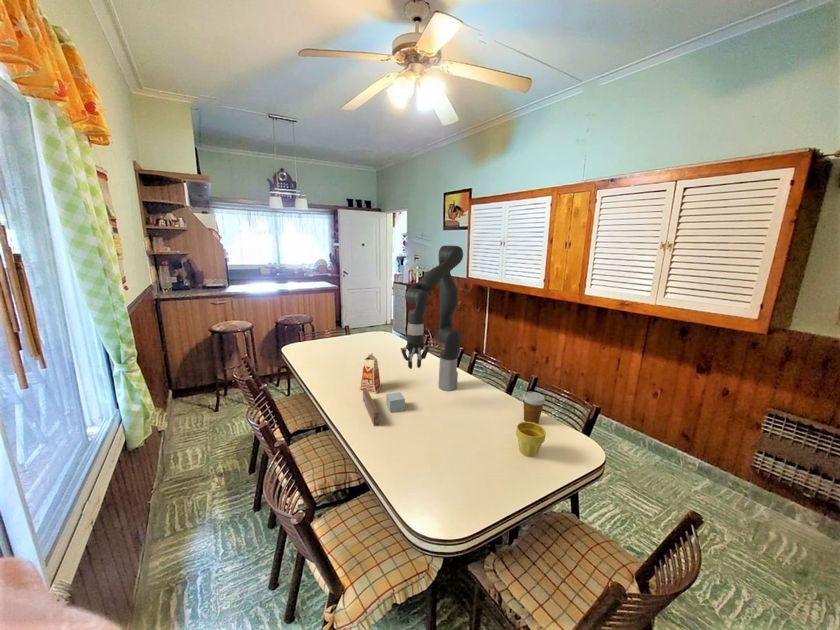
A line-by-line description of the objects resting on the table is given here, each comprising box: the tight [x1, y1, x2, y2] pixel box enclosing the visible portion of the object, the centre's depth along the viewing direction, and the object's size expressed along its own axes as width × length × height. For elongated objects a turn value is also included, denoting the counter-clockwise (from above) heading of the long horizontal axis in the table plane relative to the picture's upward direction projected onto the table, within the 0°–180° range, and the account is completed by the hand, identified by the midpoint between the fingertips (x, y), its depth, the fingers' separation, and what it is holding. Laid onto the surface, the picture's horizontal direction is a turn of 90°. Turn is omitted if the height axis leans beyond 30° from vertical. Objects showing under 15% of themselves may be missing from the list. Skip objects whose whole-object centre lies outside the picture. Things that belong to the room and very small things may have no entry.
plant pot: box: [515, 421, 547, 458], centre depth 123 cm, size 10×10×10 cm
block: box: [385, 391, 406, 413], centre depth 152 cm, size 7×7×6 cm
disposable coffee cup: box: [522, 391, 546, 425], centre depth 144 cm, size 10×10×12 cm
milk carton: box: [358, 352, 381, 395], centre depth 169 cm, size 9×9×20 cm
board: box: [362, 388, 379, 427], centre depth 148 cm, size 2×24×6 cm, turn 21°
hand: (414, 367), depth 152 cm, fingers open, 3 cm apart
